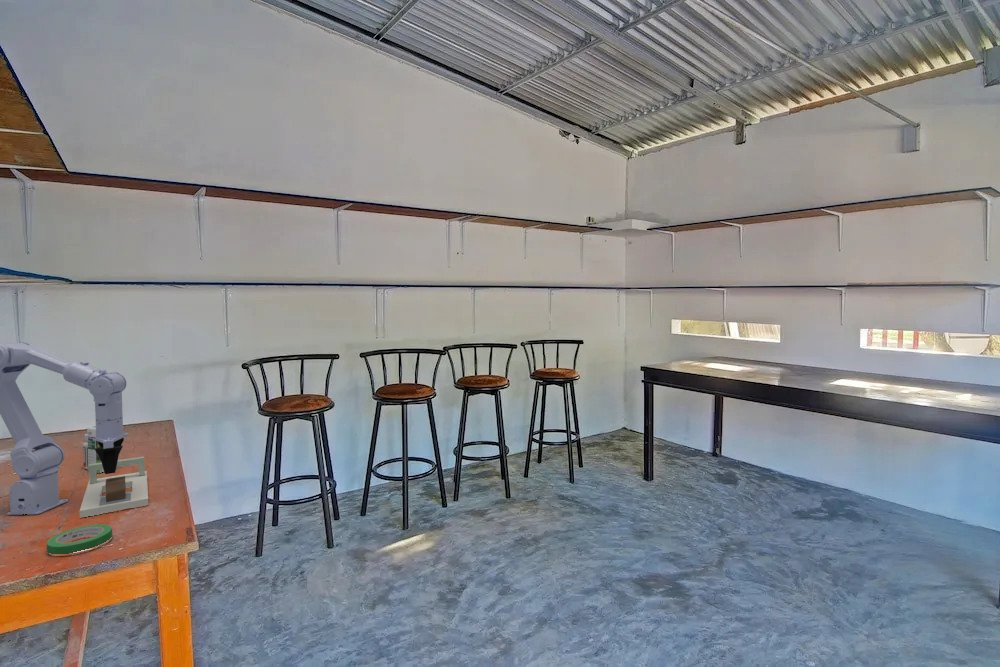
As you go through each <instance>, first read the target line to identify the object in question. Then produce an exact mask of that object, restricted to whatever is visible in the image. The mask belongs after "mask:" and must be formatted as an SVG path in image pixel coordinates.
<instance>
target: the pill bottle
mask: <svg viewBox="0 0 1000 667" xmlns="http://www.w3.org/2000/svg"><path fill="white" fill-rule="evenodd" d="M84 441H85V442H84V443H83V444H82V457H83V458H82V459H83V469H85V470H88V439H87V433H85V434H84Z"/></svg>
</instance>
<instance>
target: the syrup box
mask: <svg viewBox="0 0 1000 667" xmlns="http://www.w3.org/2000/svg"><path fill="white" fill-rule="evenodd" d="M86 428H87V429H86V431H87V432H86V434H87V439H88V469H87V471H89V464H94V463H101V459H100V457H99V456H98V454H97V453H96V451H95V448H97V447H100V446H99V444H98V442H99V441H96V440H95V437H96V425H95V426H90V427H86ZM116 468H117V469H118V467H116ZM96 471H97V474H98V473H99V474H103V473H105V472H104V470H103V469H101V470H96ZM102 472H103V473H102Z"/></svg>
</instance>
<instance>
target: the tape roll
mask: <svg viewBox="0 0 1000 667" xmlns="http://www.w3.org/2000/svg"><path fill="white" fill-rule="evenodd" d="M86 535H96V536H94V537H91V538H84V539H80V540H76V541H73V542H69V543H64V542H66V541H68V540H71V539H74V538H77V537H81V536H86ZM111 537H113V528H112V526H111V525H109V524H103V523H101V524H98V523H97V524H90V525H83V526H78V527H74V528H71V529H69V530H68V529H67V530H65V531H61V532H60V533H57V534H56V535H53V536H52V537H50V538H49V539H48V540H47V541H46V553H47V552H48V553H51V554H69V553H73V552H77V551H81V550H85V549H89V548H92V547H95V546H98V545H100V544H102V543H104V542H106V541H107V540H109V539H110V538H111Z"/></svg>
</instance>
